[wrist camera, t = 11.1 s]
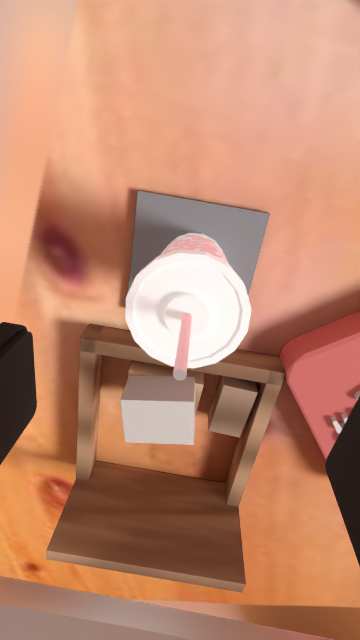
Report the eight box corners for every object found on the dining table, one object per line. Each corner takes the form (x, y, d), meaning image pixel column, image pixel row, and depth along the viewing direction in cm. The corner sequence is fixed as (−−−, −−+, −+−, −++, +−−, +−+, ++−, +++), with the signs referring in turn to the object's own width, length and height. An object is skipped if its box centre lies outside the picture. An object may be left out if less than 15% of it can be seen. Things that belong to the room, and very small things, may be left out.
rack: (90, 324, 27) (41, 391, 19) (279, 357, 27) (310, 437, 19) (83, 466, 35) (46, 559, 27) (233, 492, 35) (242, 592, 27)
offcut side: (222, 368, 29) (224, 385, 27) (253, 375, 29) (257, 392, 27) (208, 412, 31) (208, 430, 29) (237, 418, 31) (239, 437, 29)
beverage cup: (250, 281, 24) (297, 407, 12) (177, 316, 26) (151, 460, 13) (211, 204, 22) (219, 256, 10) (136, 247, 24) (56, 341, 11)
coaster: (139, 190, 23) (137, 190, 22) (268, 212, 23) (269, 214, 22) (127, 308, 27) (126, 311, 26) (238, 327, 27) (238, 330, 26)
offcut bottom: (136, 350, 29) (128, 369, 26) (204, 364, 29) (203, 385, 26) (130, 387, 30) (123, 409, 28) (194, 400, 30) (193, 423, 28)
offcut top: (129, 375, 26) (120, 399, 23) (194, 376, 26) (193, 401, 23) (133, 415, 28) (125, 442, 25) (194, 417, 27) (193, 444, 25)
